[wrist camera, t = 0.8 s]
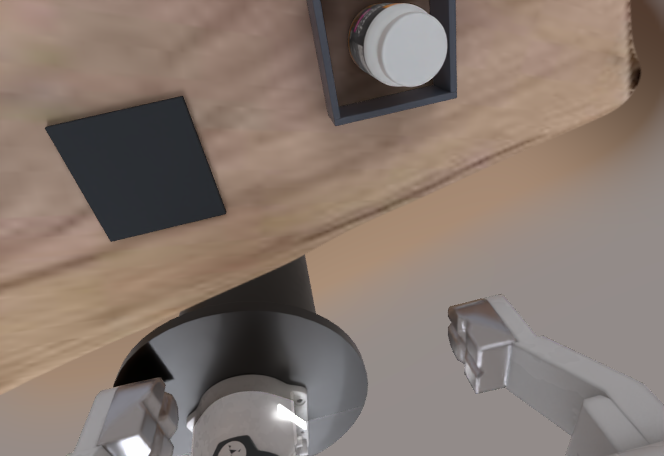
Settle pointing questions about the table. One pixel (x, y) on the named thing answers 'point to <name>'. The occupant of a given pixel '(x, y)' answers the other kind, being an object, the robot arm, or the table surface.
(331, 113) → the open box
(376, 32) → the pill bottle
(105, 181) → the mat
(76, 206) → the table surface
